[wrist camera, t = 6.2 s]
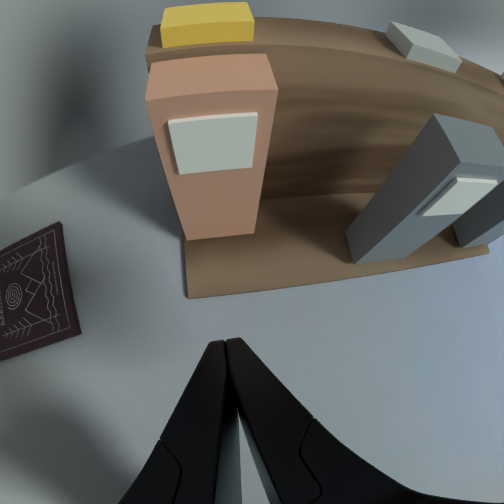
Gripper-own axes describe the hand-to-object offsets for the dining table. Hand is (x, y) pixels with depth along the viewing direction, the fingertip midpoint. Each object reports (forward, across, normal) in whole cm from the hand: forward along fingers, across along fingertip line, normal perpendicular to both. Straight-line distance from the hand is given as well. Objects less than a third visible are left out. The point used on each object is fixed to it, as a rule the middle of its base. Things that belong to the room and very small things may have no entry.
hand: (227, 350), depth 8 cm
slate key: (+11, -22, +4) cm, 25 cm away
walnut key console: (+14, -11, +2) cm, 18 cm away
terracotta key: (+14, 0, +2) cm, 14 cm away
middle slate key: (+11, -11, +4) cm, 16 cm away
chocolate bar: (+11, +20, +4) cm, 23 cm away
